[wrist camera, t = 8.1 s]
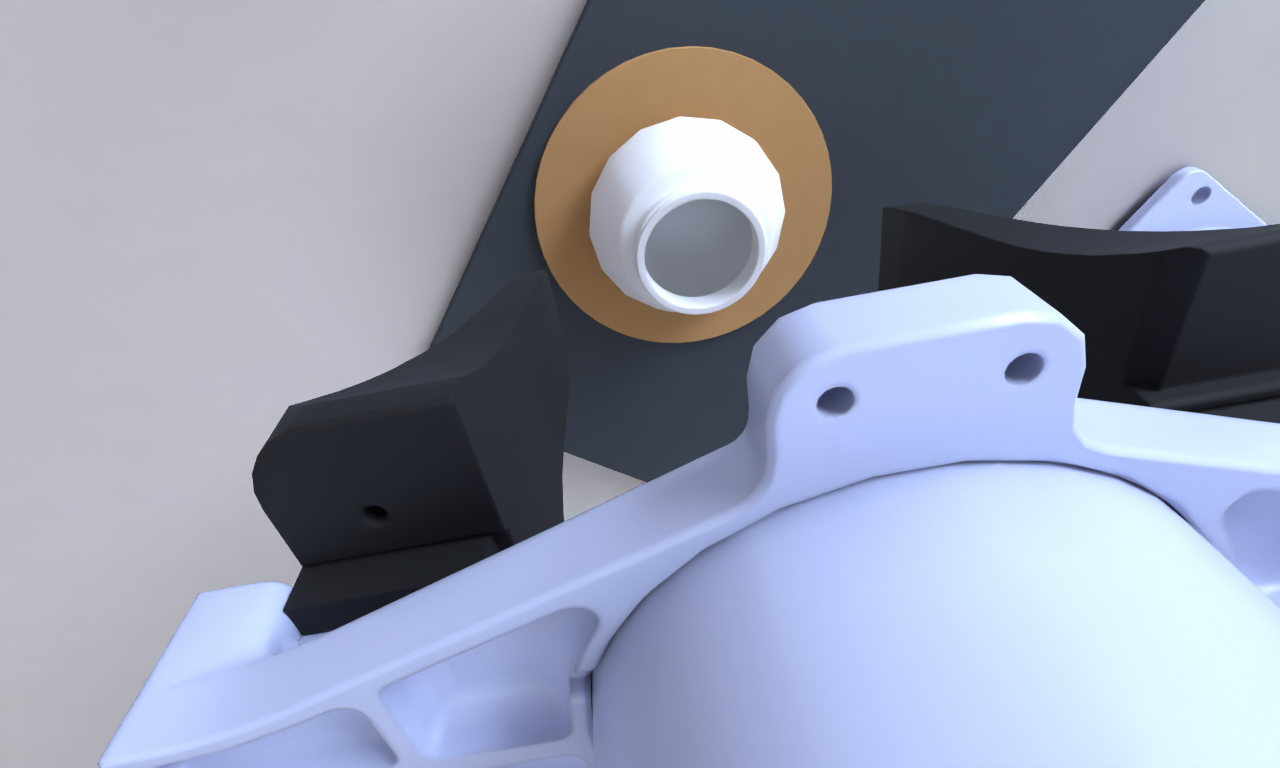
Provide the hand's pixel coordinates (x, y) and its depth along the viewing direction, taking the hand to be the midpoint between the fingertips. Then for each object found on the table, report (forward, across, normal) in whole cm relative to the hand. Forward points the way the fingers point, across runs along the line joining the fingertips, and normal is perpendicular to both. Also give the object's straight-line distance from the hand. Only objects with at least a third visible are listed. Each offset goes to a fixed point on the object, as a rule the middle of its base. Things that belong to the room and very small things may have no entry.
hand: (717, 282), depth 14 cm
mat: (+5, -2, 0) cm, 5 cm away
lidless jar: (+4, 0, 0) cm, 4 cm away
